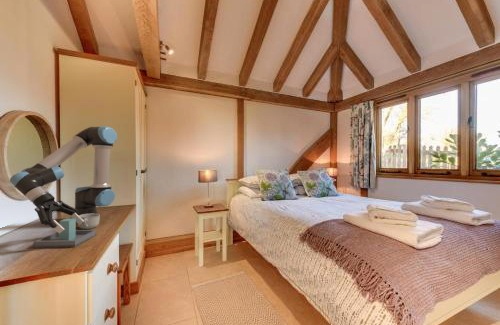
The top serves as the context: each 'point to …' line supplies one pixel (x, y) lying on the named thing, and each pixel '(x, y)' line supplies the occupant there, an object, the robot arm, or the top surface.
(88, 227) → the teacup
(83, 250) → the top surface
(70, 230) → the teal block
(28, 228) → the top surface
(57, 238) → the tray
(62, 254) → the top surface
